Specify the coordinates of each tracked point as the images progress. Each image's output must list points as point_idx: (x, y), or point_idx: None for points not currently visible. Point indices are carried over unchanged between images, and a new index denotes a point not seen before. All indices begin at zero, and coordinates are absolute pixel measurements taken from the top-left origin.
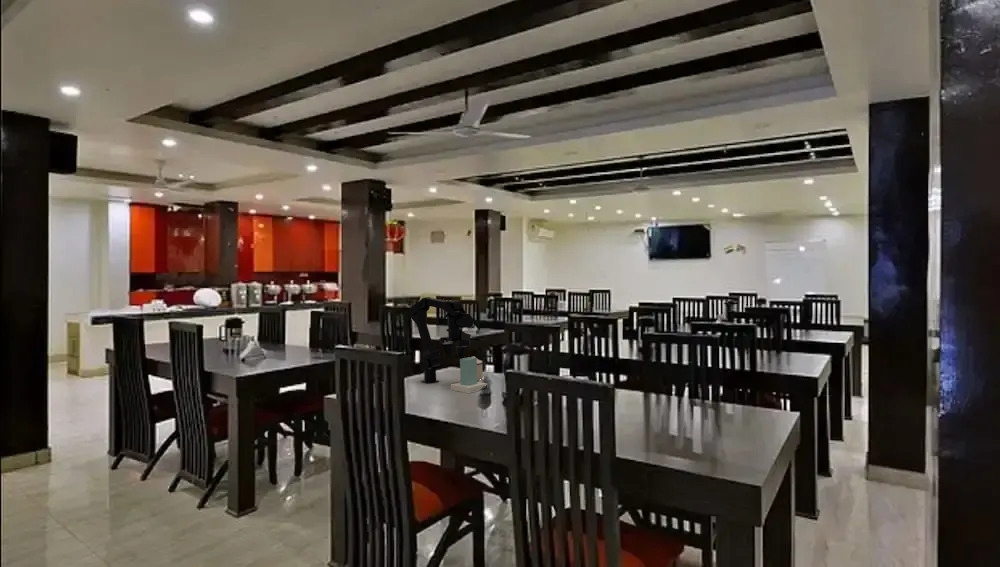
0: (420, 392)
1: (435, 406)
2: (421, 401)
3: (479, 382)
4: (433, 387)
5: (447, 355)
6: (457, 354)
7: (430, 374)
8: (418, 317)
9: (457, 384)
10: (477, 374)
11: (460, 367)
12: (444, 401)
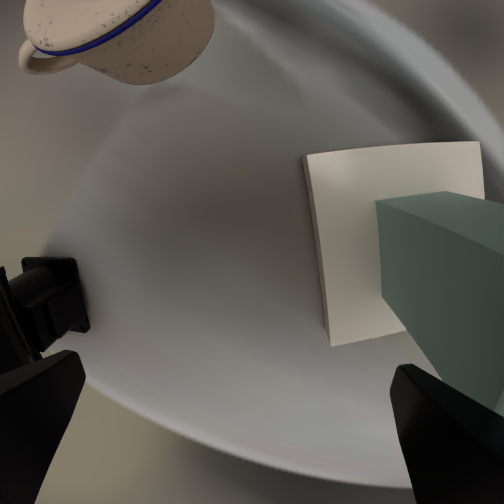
0: (254, 440)
1: None
2: (383, 470)
3: (430, 153)
4: (190, 361)
5: (59, 413)
6: (424, 494)
7: (57, 338)
8: None
9: (366, 314)
10: (204, 11)
11: (441, 372)
12: None
